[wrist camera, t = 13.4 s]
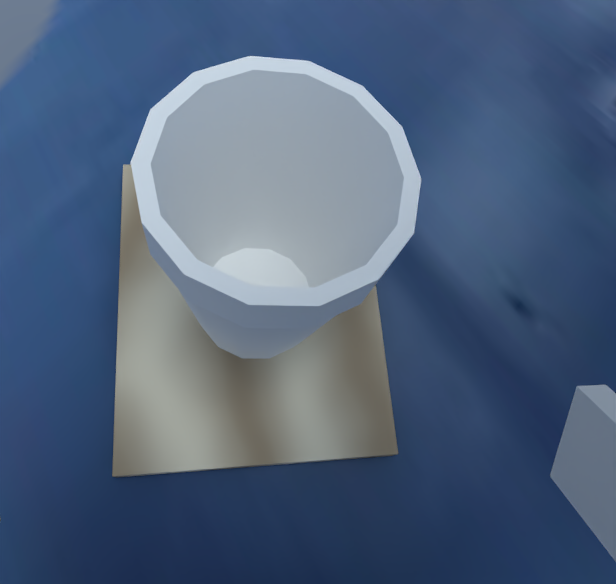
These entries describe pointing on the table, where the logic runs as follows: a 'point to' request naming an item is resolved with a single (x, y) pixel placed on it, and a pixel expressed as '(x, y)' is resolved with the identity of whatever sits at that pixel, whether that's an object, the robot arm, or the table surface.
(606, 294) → the table surface
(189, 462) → the birch board
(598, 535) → the robot arm
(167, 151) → the foam cup
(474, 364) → the table surface
